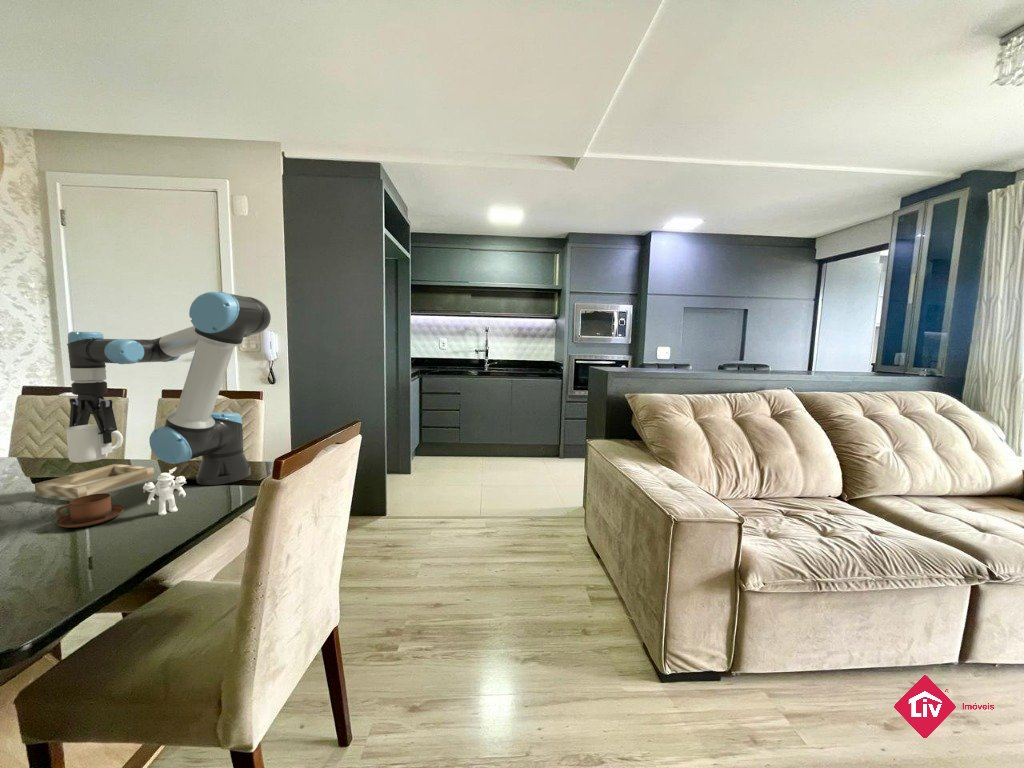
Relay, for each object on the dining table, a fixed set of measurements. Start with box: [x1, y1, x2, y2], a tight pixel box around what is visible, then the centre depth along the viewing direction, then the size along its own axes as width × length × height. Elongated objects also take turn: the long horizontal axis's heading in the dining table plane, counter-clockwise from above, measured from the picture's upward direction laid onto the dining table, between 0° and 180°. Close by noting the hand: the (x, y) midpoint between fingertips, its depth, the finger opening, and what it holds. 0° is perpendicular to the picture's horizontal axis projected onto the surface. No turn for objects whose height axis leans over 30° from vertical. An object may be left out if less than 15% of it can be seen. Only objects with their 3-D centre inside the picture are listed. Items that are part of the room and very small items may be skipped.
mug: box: [65, 423, 124, 464], centre depth 122 cm, size 12×8×10 cm
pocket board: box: [34, 463, 156, 502], centre depth 123 cm, size 17×20×4 cm
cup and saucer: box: [55, 493, 125, 529], centre depth 101 cm, size 12×12×6 cm
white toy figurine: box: [142, 466, 187, 516], centre depth 106 cm, size 9×4×12 cm, turn 144°
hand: (95, 452), depth 122 cm, fingers closed on mug, 8 cm apart
